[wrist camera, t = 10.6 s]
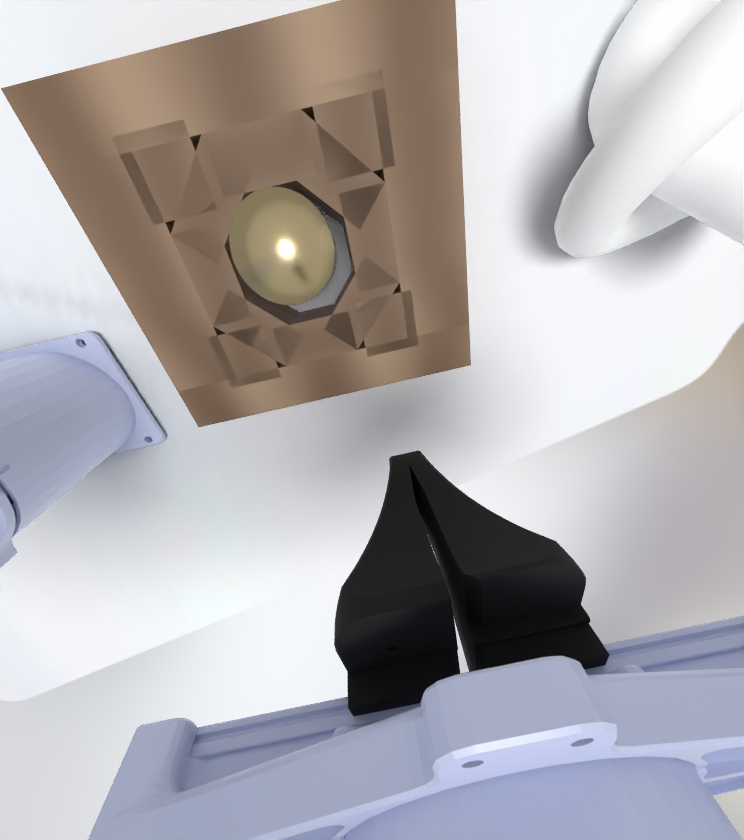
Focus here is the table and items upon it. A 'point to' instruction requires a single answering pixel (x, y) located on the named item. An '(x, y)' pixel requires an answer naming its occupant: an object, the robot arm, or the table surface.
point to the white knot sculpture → (662, 129)
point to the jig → (274, 167)
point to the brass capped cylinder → (282, 246)
